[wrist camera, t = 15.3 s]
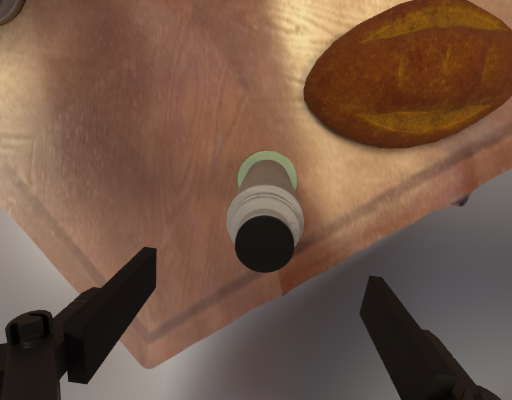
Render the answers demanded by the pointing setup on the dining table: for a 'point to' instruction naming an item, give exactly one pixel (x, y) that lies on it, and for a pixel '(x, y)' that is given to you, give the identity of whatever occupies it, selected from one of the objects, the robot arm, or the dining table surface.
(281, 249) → the thermos bottle
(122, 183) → the dining table surface
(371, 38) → the bread
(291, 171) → the trivet
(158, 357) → the dining table surface
